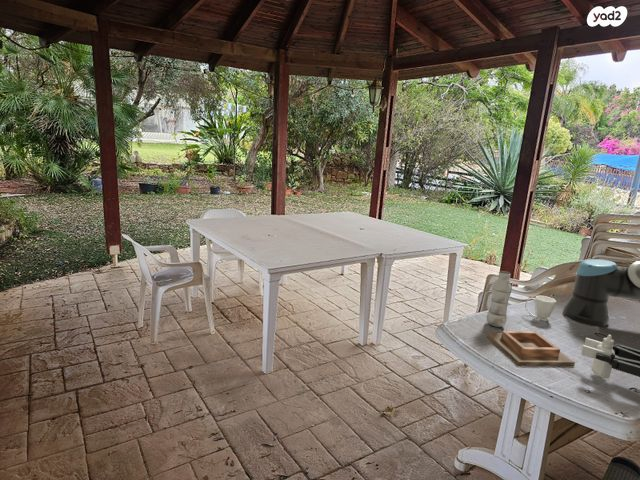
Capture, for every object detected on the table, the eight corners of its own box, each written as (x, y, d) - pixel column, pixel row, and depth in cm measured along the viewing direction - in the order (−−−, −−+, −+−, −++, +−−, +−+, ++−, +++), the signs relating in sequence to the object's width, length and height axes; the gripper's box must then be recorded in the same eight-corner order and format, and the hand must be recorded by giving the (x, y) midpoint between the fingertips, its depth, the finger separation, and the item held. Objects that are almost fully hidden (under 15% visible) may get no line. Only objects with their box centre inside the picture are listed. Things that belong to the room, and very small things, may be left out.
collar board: (536, 337, 138) (538, 327, 137) (574, 365, 120) (576, 354, 119) (486, 336, 135) (488, 326, 134) (518, 365, 118) (520, 354, 117)
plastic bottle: (507, 330, 141) (517, 276, 137) (487, 327, 143) (496, 274, 138) (502, 323, 147) (512, 271, 143) (483, 320, 149) (492, 268, 144)
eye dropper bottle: (590, 374, 113) (600, 336, 111) (591, 366, 118) (600, 329, 115) (608, 380, 111) (619, 341, 108) (609, 372, 115) (619, 334, 113)
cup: (551, 323, 150) (555, 303, 148) (522, 316, 155) (526, 296, 153) (552, 318, 156) (557, 298, 154) (524, 310, 161) (528, 291, 159)
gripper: (688, 408, 96) (576, 370, 110) (683, 376, 110) (584, 346, 124) (697, 380, 94) (582, 345, 108) (691, 352, 108) (590, 324, 122)
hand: (583, 345), depth 116 cm, fingers closed on eye dropper bottle, 5 cm apart
